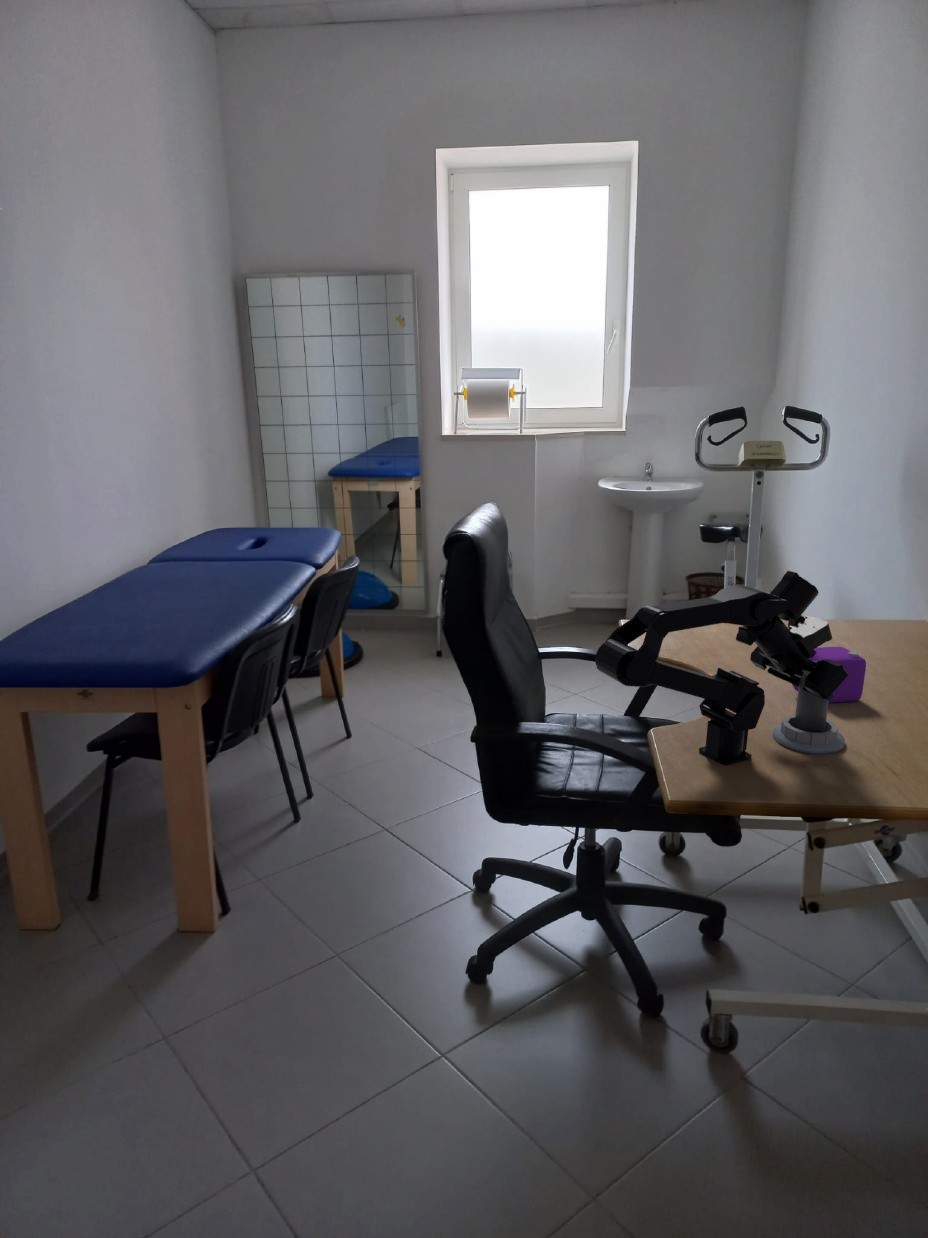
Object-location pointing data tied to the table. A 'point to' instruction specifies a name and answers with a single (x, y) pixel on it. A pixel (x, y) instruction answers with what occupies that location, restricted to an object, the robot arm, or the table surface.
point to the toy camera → (852, 663)
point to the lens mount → (808, 737)
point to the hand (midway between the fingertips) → (819, 693)
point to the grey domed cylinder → (810, 710)
